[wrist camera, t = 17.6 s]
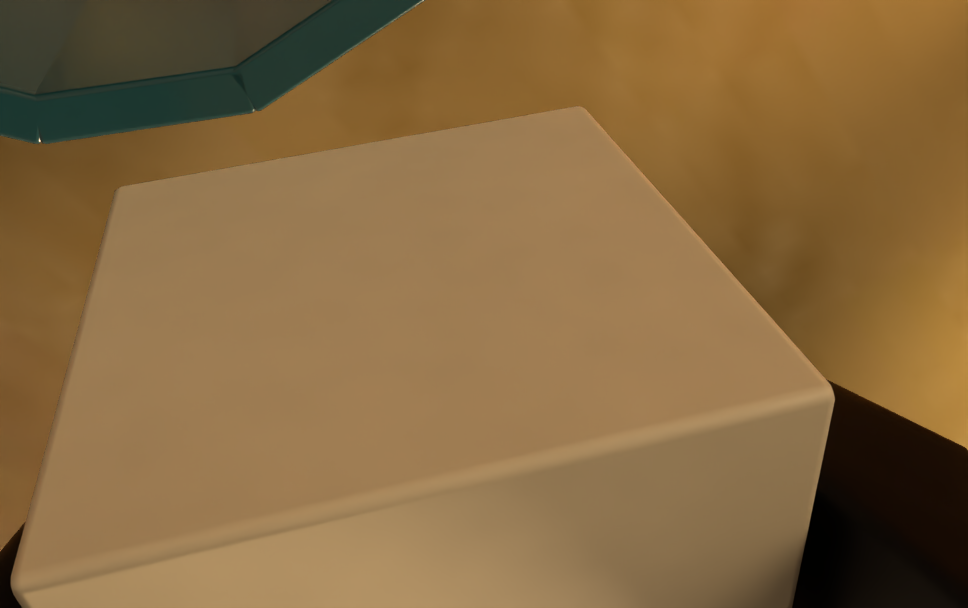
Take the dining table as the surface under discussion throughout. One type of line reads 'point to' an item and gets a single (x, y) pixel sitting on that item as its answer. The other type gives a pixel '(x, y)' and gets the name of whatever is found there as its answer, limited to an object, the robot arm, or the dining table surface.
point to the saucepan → (165, 59)
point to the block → (423, 392)
